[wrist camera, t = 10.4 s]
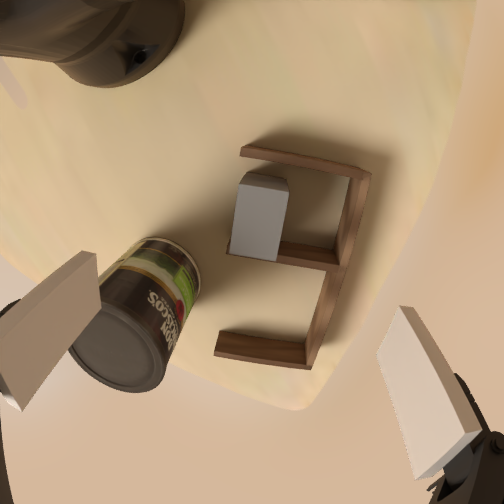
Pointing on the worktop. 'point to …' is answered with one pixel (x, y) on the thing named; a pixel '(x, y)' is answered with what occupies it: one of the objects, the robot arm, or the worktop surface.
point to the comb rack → (309, 258)
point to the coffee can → (139, 316)
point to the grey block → (259, 216)
